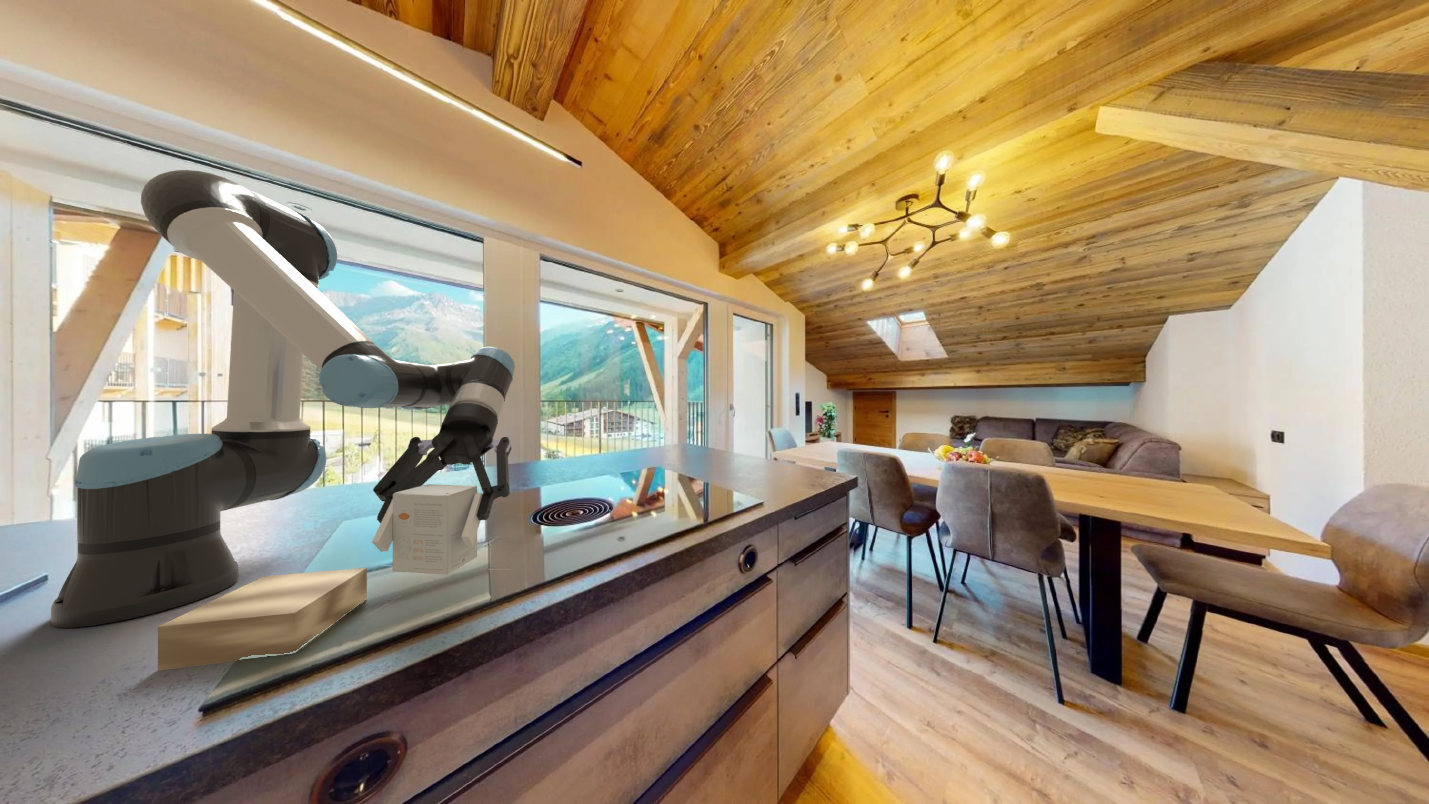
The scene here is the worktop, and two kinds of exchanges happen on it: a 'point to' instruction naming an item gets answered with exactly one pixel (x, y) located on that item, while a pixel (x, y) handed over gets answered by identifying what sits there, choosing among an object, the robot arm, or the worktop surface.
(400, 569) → the small box
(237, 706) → the worktop surface
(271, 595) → the maple block
